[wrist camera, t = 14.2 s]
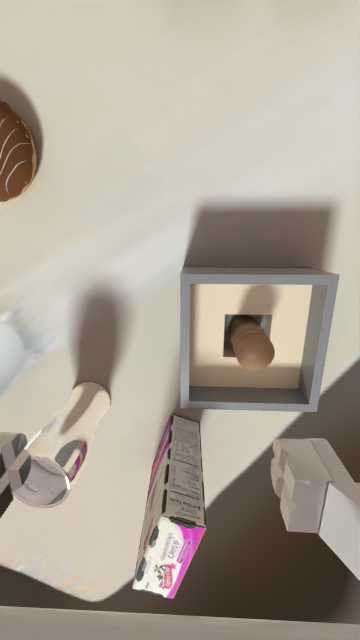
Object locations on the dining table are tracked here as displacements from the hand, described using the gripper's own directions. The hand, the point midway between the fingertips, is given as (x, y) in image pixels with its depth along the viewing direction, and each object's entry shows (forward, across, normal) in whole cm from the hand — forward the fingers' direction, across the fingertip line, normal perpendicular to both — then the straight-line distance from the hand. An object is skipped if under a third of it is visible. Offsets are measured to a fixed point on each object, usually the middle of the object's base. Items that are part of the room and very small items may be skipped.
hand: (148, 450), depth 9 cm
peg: (+27, -8, +6) cm, 29 cm away
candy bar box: (+28, +1, +25) cm, 38 cm away
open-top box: (+28, -8, +6) cm, 30 cm away
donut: (+29, +22, -16) cm, 40 cm away
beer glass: (+28, +14, +17) cm, 36 cm away
